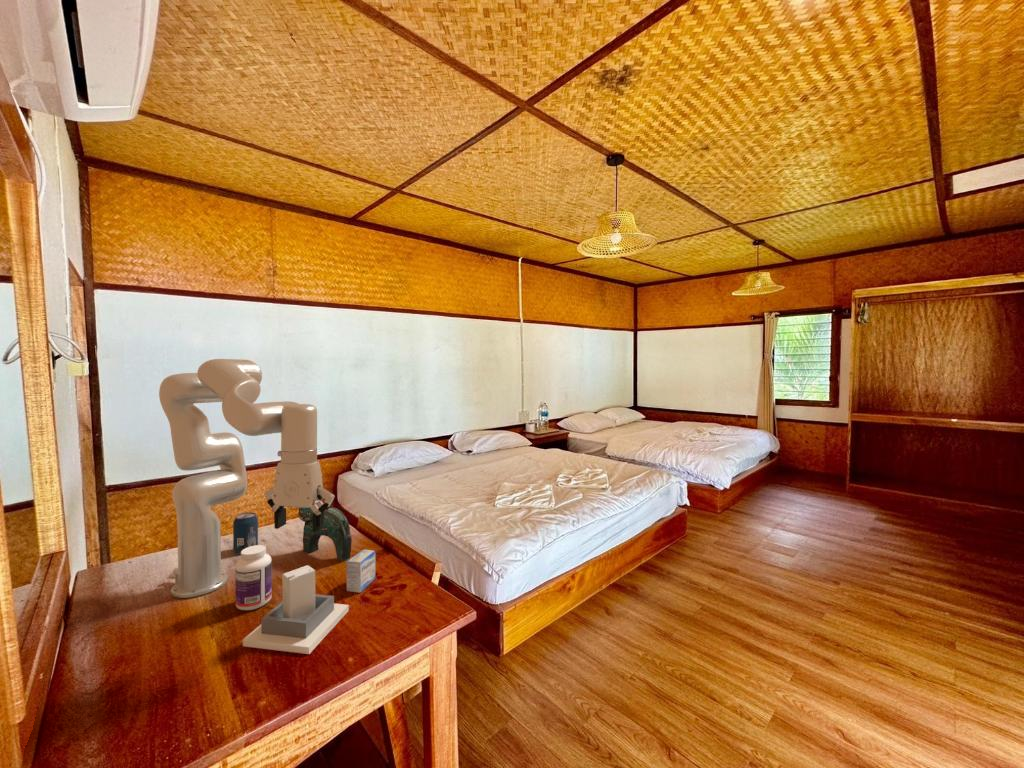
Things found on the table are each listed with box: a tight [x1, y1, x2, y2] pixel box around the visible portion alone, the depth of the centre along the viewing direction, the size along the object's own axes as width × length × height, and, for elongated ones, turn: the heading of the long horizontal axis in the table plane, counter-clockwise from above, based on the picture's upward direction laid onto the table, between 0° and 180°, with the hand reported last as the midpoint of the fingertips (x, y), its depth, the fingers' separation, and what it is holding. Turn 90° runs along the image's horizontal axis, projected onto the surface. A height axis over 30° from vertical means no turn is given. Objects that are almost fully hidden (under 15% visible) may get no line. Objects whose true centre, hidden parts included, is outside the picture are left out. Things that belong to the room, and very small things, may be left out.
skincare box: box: [281, 564, 316, 620], centre depth 96 cm, size 6×4×12 cm
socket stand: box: [242, 593, 350, 655], centre depth 96 cm, size 16×16×5 cm
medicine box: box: [346, 549, 376, 594], centre depth 115 cm, size 8×4×9 cm, turn 168°
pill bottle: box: [234, 544, 273, 611], centre depth 105 cm, size 8×8×14 cm
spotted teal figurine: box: [298, 497, 353, 562], centre depth 134 cm, size 20×6×20 cm, turn 67°
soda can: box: [232, 512, 259, 555], centre depth 136 cm, size 7×7×12 cm
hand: (299, 528), depth 95 cm, fingers open, 9 cm apart
